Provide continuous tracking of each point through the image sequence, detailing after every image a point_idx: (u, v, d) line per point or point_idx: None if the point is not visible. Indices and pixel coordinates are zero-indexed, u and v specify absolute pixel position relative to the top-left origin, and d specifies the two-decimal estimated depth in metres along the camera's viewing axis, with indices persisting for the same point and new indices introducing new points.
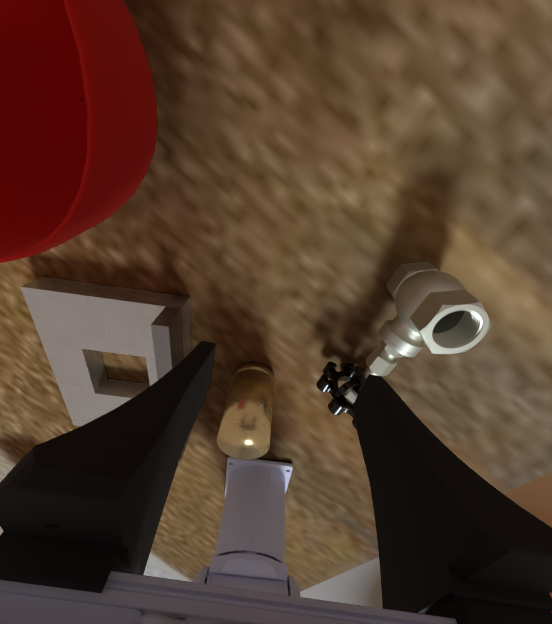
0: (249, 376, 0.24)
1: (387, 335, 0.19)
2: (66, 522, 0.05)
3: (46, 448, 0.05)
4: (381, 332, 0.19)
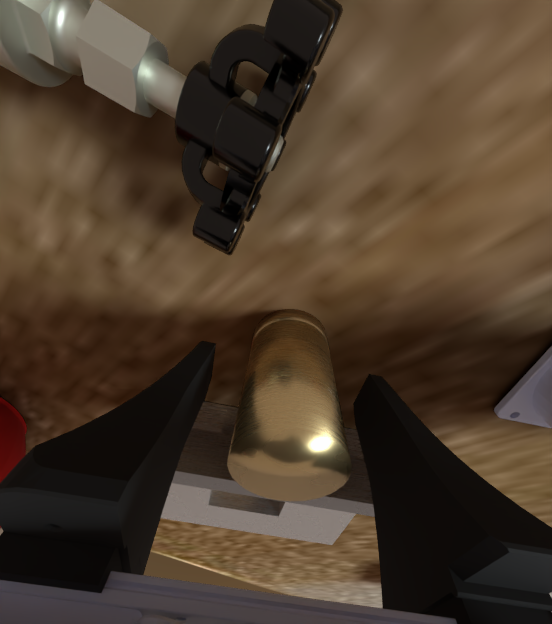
0: None
1: None
2: (66, 522, 0.05)
3: (45, 448, 0.05)
4: None
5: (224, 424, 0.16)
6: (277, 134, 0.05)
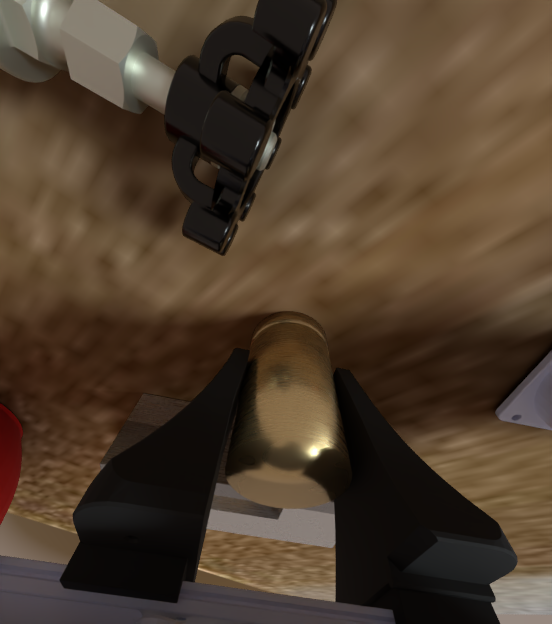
0: None
1: None
2: (146, 534, 0.05)
3: (122, 460, 0.06)
4: None
5: None
6: (267, 130, 0.05)
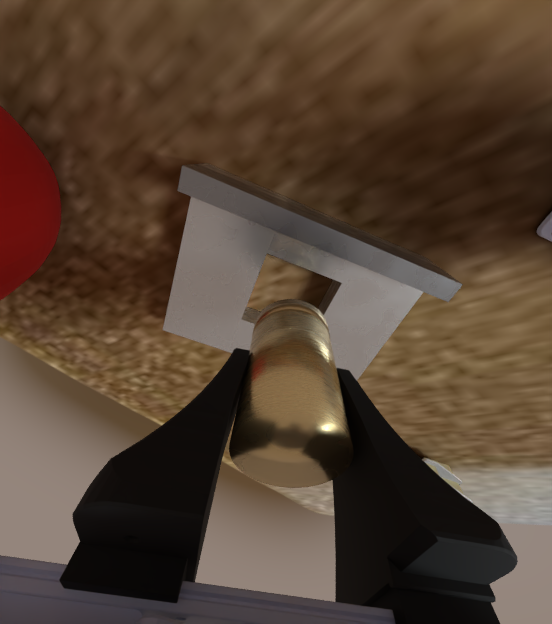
0: None
1: None
2: (146, 534, 0.05)
3: (121, 461, 0.06)
4: None
5: (287, 201, 0.16)
6: None
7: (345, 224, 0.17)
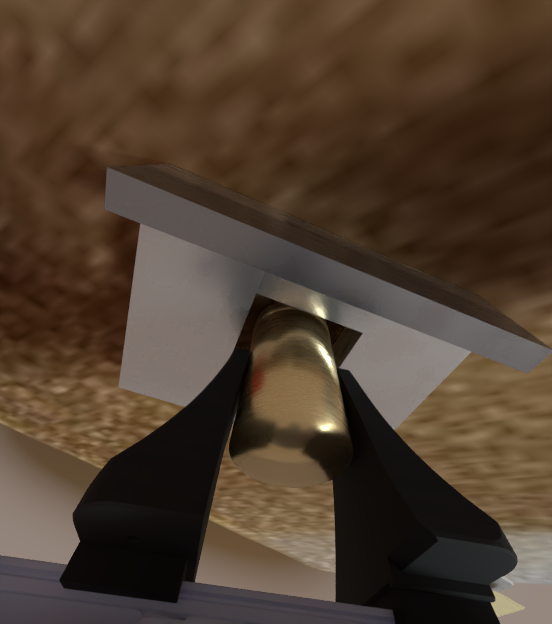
0: None
1: None
2: (146, 534, 0.05)
3: (121, 461, 0.06)
4: None
5: (286, 220, 0.11)
6: None
7: (369, 252, 0.12)
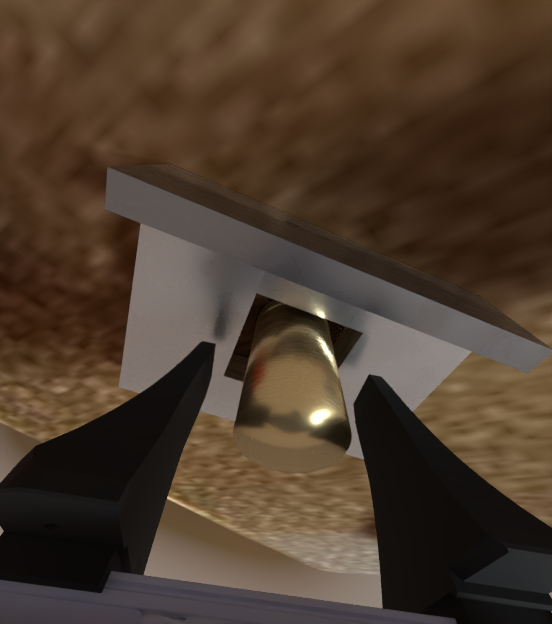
0: None
1: None
2: (66, 522, 0.05)
3: (45, 448, 0.05)
4: None
5: (287, 220, 0.11)
6: None
7: (369, 252, 0.12)
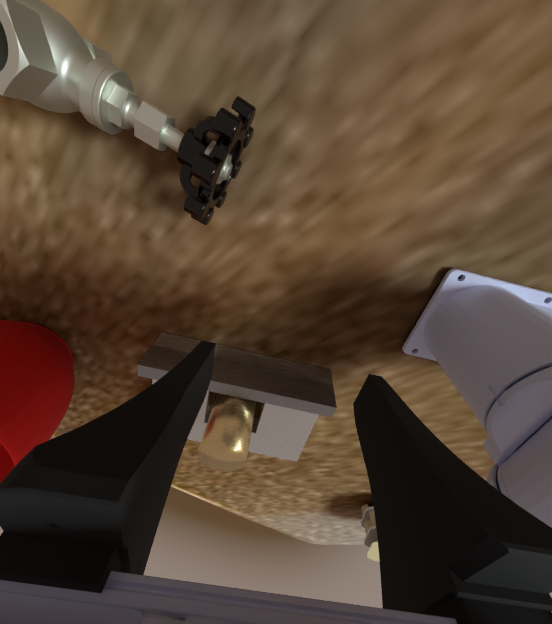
0: None
1: (95, 125, 0.14)
2: (66, 522, 0.05)
3: (45, 448, 0.05)
4: None
5: (216, 354, 0.24)
6: (217, 167, 0.12)
7: (261, 359, 0.24)
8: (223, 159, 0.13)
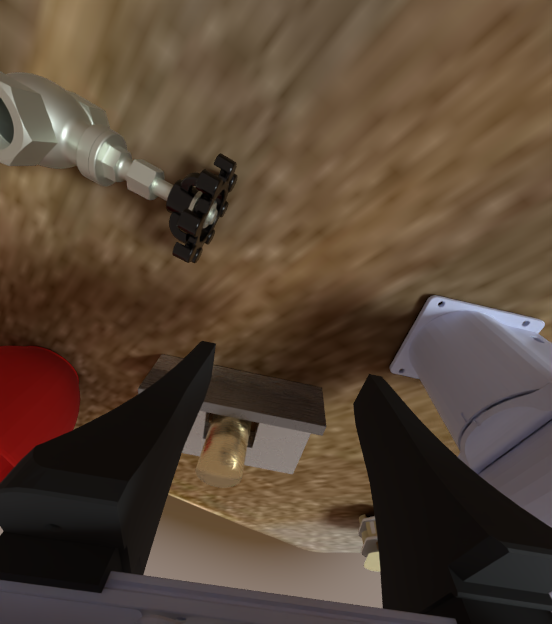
0: None
1: (92, 180, 0.15)
2: (66, 522, 0.05)
3: (45, 448, 0.05)
4: None
5: (212, 375, 0.25)
6: (200, 222, 0.13)
7: (255, 379, 0.26)
8: (206, 212, 0.14)
